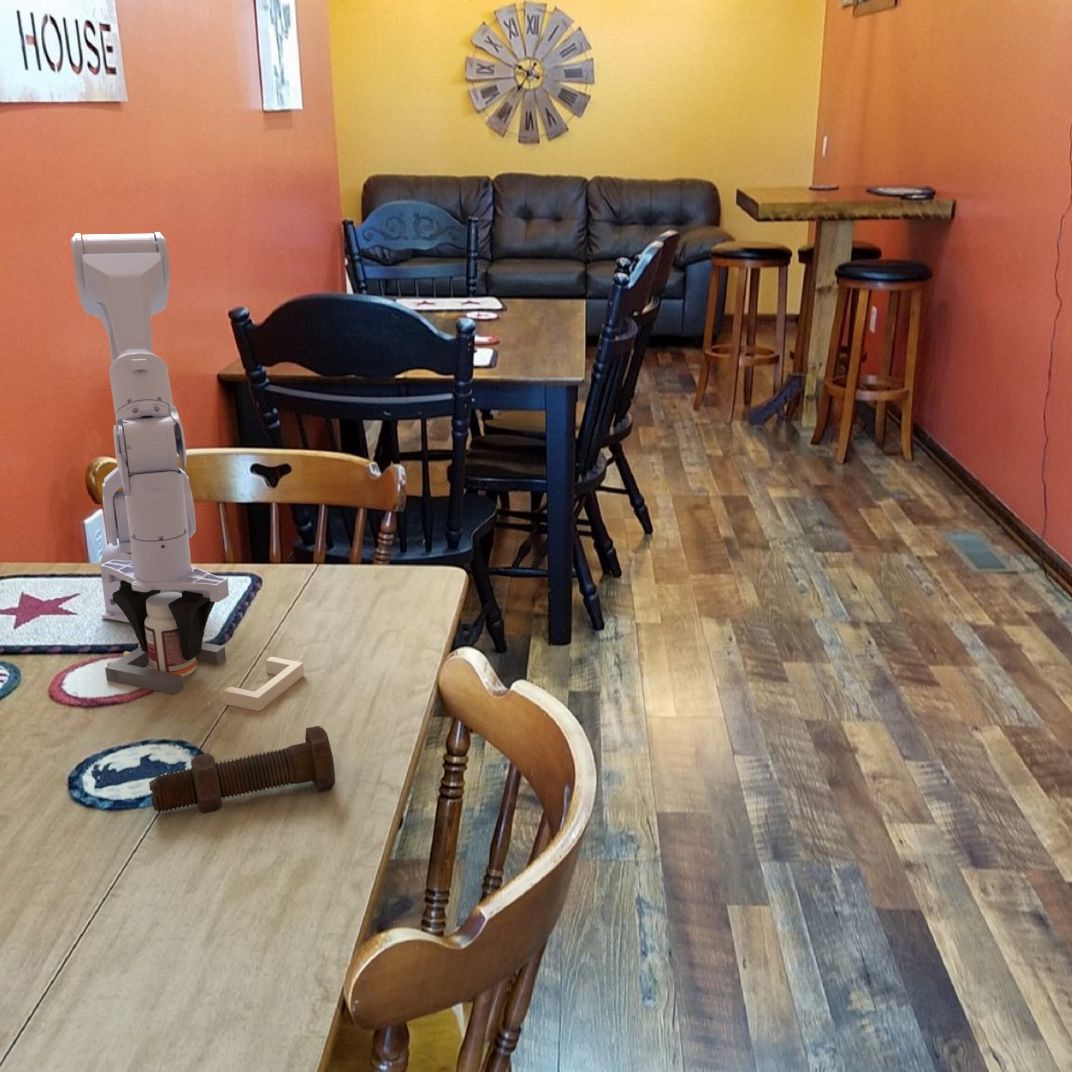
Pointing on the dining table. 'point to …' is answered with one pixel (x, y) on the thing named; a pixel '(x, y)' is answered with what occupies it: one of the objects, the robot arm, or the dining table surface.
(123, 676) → the gray u-shaped bracket
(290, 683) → the bracket
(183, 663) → the pill bottle
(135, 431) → the robot arm
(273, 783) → the bolt
